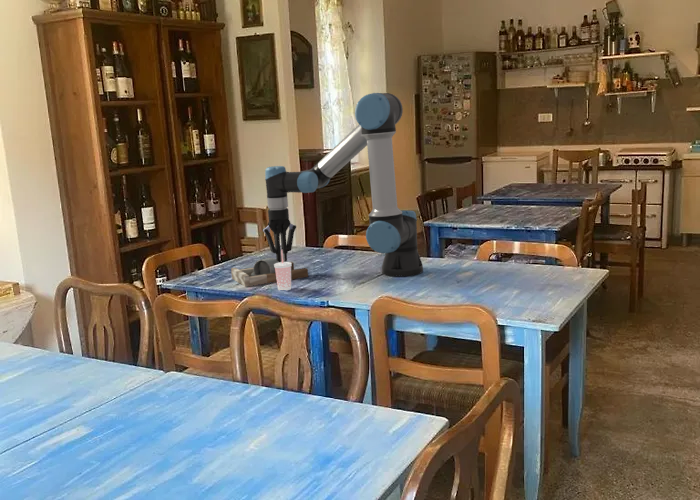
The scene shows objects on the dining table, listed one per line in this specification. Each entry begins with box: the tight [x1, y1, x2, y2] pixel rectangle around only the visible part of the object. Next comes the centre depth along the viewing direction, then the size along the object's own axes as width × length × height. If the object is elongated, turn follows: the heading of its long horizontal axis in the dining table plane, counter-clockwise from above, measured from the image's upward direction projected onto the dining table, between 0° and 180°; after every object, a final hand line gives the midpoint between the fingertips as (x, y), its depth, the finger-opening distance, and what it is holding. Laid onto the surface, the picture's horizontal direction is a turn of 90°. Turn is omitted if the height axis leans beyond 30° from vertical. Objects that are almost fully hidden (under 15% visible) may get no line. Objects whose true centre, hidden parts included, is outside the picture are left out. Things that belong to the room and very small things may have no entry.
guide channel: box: [230, 261, 309, 288], centre depth 266 cm, size 16×24×4 cm, turn 116°
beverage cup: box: [274, 248, 292, 291], centre depth 247 cm, size 6×6×14 cm
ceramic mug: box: [251, 257, 279, 276], centre depth 265 cm, size 11×8×8 cm
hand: (282, 270), depth 269 cm, fingers closed
